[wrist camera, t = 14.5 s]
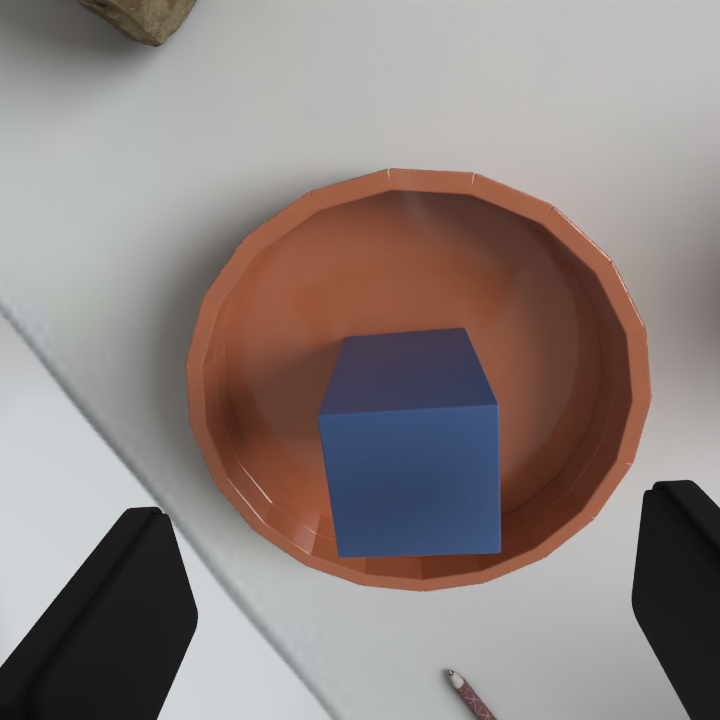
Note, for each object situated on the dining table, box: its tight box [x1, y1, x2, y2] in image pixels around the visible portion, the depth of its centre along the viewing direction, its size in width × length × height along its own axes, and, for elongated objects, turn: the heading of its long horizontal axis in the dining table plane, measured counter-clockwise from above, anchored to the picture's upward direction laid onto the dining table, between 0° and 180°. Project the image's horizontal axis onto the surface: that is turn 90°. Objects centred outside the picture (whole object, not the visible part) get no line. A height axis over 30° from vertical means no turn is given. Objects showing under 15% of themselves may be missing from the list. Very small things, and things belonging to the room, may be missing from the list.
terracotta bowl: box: [185, 168, 651, 592], centre depth 18 cm, size 15×15×3 cm
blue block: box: [317, 328, 501, 558], centre depth 15 cm, size 4×4×6 cm
